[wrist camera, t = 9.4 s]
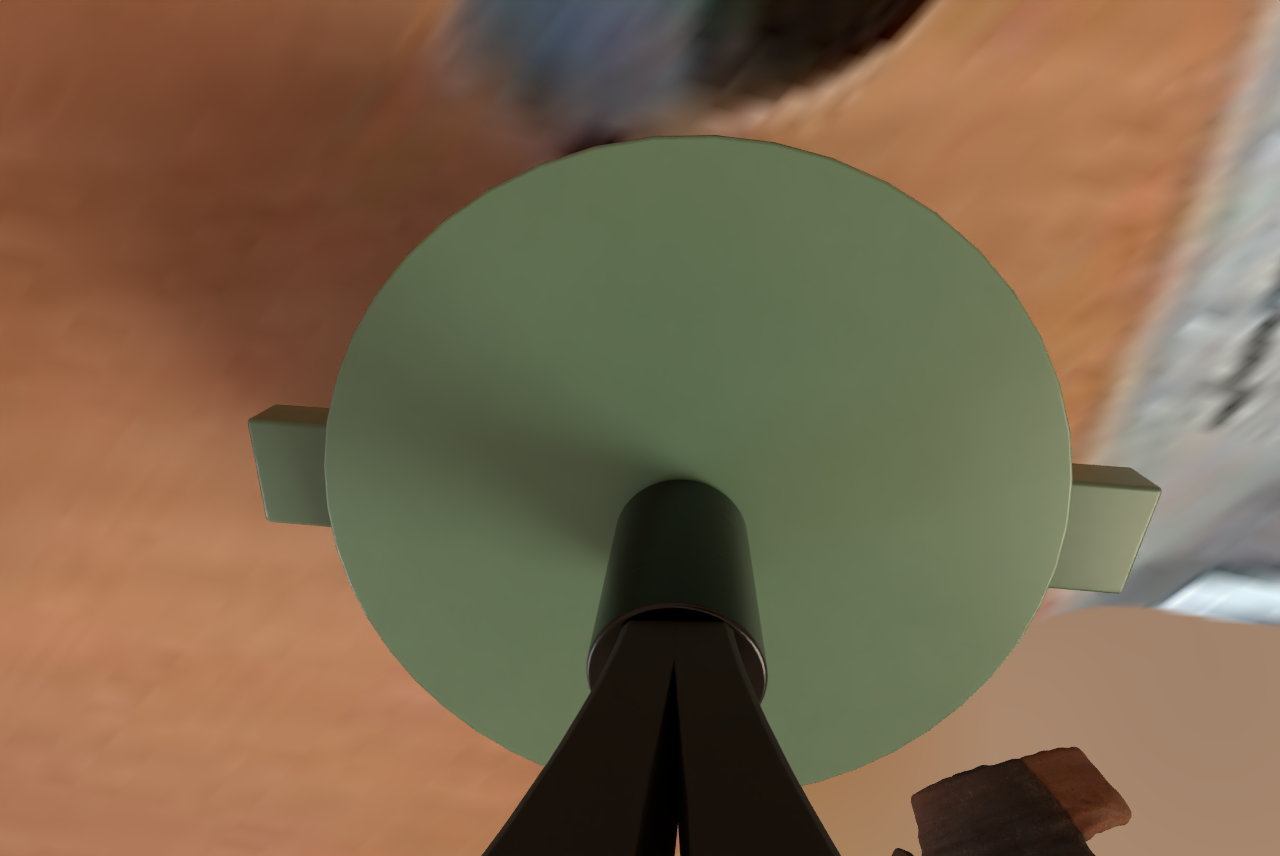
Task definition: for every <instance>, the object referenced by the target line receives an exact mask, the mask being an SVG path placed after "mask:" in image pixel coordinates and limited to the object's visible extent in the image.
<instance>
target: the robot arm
mask: <svg viewBox="0 0 1280 856" xmlns="http://www.w3.org/2000/svg"><path fill="white" fill-rule="evenodd" d="M678 827H679V844H680V856H841V855H840V854H839V852H838V850H837V848H836V847H835V845H834V843H833V842H832V840H831V838H830V837H829V835H828V833H827V831H826V830H825V828H824V826H823V824H822V823H821V821H820V819H819V818H818V816H817V814H816V812H815V811H814V809H813V807H812V806H811V804H810V802H809V800H808V798H807V797H806V795H805V793H804V791H803V789H802V787H801V786H800V784H799V782H798V780H797V778H796V776H795V774H794V773H793V771H792V769H791V767H790V765H789V763H788V761H787V759H786V757H785V755H784V753H783V751H782V749H781V747H780V745H779V743H778V741H777V739H776V737H775V735H774V733H773V731H772V729H771V727H770V725H769V723H768V721H767V719H766V717H765V714H764V712H763V710H762V708H761V706H760V704H759V701H758V699H757V697H756V694H755V692H754V689H753V687H752V685H751V682H750V680H749V678H748V675H747V672H746V670H745V667H744V665H743V662H742V659H741V656H740V653H739V650H738V647H737V643H736V640H735V636H734V631H733V629H732V628H731V627H730V626H729V625H727V624H726V623H725V622H689V621H638V620H630V621H629V622H628V623H627V624H625V625H624V626H623V627H622V629H621V631H620V634H619V636H618V639H617V641H616V643H615V645H614V648H613V650H612V652H611V654H610V656H609V658H608V660H607V662H606V664H605V666H604V668H603V670H602V672H601V674H600V675H599V677H598V679H597V681H596V683H595V685H594V686H593V688H592V690H591V692H590V694H589V696H588V697H587V699H586V701H585V702H584V704H583V706H582V707H581V709H580V711H579V712H578V714H577V716H576V717H575V719H574V721H573V722H572V724H571V726H570V727H569V729H568V731H567V732H566V734H565V736H564V737H563V739H562V741H561V742H560V744H559V746H558V747H557V749H556V750H555V752H554V753H553V755H552V756H551V758H550V760H549V761H548V763H547V764H546V765H545V767H544V768H543V770H542V771H541V773H540V774H539V776H538V777H537V779H536V780H535V781H534V783H533V784H532V786H531V787H530V789H529V790H528V792H527V793H526V795H525V796H524V798H523V799H522V800H521V802H520V803H519V805H518V806H517V808H516V809H515V811H514V812H513V814H512V815H511V816H510V818H509V819H508V821H507V822H506V823H505V825H504V826H503V828H502V829H501V830H500V832H499V833H498V834H497V836H496V837H495V838H494V840H493V841H492V842H491V844H490V845H489V846H488V848H487V849H486V850H485V852H484V853H483V854H482V856H675V847H676V837H677V828H678Z"/></svg>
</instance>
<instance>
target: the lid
mask: <svg viewBox="0 0 1280 856" xmlns="http://www.w3.org/2000/svg"><path fill="white" fill-rule="evenodd" d="M324 472H325V485H326V497H327V508H328V512H329V517H330V521H331V526H332V530H333V535H334V539H335V544H336V548H337V550H338V553H339V556H340V558H341V561H342V564H343V567H344V569H345V572H346V575H347V577H348V580H349V583H350V585H351V587H352V589H353V591H354V593H355V595H356V597H357V599H358V601H359V603H360V604H361V606H362V608H363V610H364V612H365V614H366V616H367V618H368V620H369V621H370V623H371V624H372V626H373V627H374V629H375V630H376V631H377V633H378V634H379V636H380V637H381V639H382V640H383V642H384V643H385V645H386V646H387V647H388V649H389V650H390V652H391V653H392V654H393V655H394V656H395V658H396V659H397V660H398V661H399V662H400V663H401V664H402V666H403V667H404V668H405V669H406V670H407V671H408V672H409V674H410V675H411V676H412V677H413V678H414V679H415V681H416V682H417V683H419V684H420V685H421V686H422V687H423V688H424V689H425V690H426V691H427V692H428V693H429V694H431V695H432V696H433V697H434V698H435V699H436V700H437V701H438V702H439V703H440V704H441V705H443V706H444V707H445V708H446V709H447V710H449V711H450V712H451V713H453V714H454V715H455V716H457V717H458V718H459V719H461V720H462V721H464V722H465V723H466V724H468V725H469V726H470V727H472V728H473V729H474V730H476V731H477V732H479V733H481V734H482V735H484V736H486V737H487V738H489V739H491V740H492V741H494V742H496V743H497V744H499V745H501V746H503V747H504V748H506V749H508V750H509V751H511V752H513V753H516V754H518V755H520V756H522V757H524V758H526V759H528V760H531V761H533V762H535V763H537V764H539V765H541V766H543V767H545V765H546V764H547V763H548V761H549V760H550V758H551V756H552V755H553V753H554V752H555V750H556V749H557V747H558V746H559V744H560V742H561V741H562V739H563V737H564V736H565V734H566V732H567V731H568V729H569V727H570V726H571V724H572V722H573V721H574V719H575V717H576V716H577V714H578V712H579V711H580V709H581V707H582V706H583V704H584V702H585V701H586V699H587V697H588V696H589V694H590V692H591V690H592V688H593V686H594V685H595V683H596V681H597V679H598V677H599V675H600V674H601V672H602V670H603V668H604V666H605V664H606V662H607V660H608V658H609V656H610V654H611V652H612V650H613V648H614V645H615V643H616V641H617V639H618V636H619V634H620V631H621V629H622V627H623V626H624V625H625V624H627V623H628V622H629V621H630V620H638V621H689V622H725V623H726V624H727V625H729V626H730V627H731V628H732V629H733V631H734V636H735V640H736V643H737V647H738V650H739V653H740V656H741V659H742V662H743V665H744V667H745V670H746V672H747V675H748V678H749V680H750V682H751V685H752V687H753V689H754V692H755V694H756V697H757V699H758V701H759V704H760V706H761V708H762V710H763V712H764V714H765V717H766V719H767V721H768V723H769V725H770V727H771V729H772V731H773V733H774V735H775V737H776V739H777V741H778V743H779V745H780V747H781V749H782V751H783V753H784V755H785V757H786V759H787V761H788V763H789V765H790V767H791V769H792V771H793V773H794V774H795V776H796V778H797V780H798V782H799V784H800V786H803V785H808V784H812V783H816V782H819V781H822V780H825V779H828V778H831V777H834V776H837V775H840V774H843V773H846V772H849V771H852V770H855V769H857V768H859V767H862V766H864V765H866V764H868V763H870V762H873V761H875V760H877V759H879V758H881V757H883V756H886V755H888V754H890V753H892V752H894V751H896V750H897V749H899V748H901V747H902V746H904V745H906V744H907V743H909V742H911V741H912V740H914V739H916V738H917V737H919V736H921V735H922V734H924V733H926V732H927V731H929V730H930V729H931V728H933V727H934V726H935V725H937V724H938V723H939V722H941V721H942V720H943V719H945V718H946V717H947V716H948V715H950V714H951V713H952V712H954V711H955V710H956V709H958V708H959V707H960V706H962V704H964V703H965V702H966V700H968V699H969V698H970V697H971V696H972V695H973V694H974V693H975V692H976V691H977V690H978V689H979V688H980V687H981V686H982V685H983V684H984V683H985V682H986V681H987V680H988V679H989V678H990V677H991V676H992V675H993V674H994V672H995V671H996V670H997V669H998V667H999V666H1000V665H1001V664H1002V663H1003V661H1004V660H1005V659H1006V657H1007V656H1008V655H1009V654H1010V652H1011V651H1012V650H1013V649H1014V648H1015V646H1016V645H1017V644H1018V642H1019V640H1020V639H1021V637H1022V636H1023V634H1024V632H1025V631H1026V629H1027V627H1028V626H1029V624H1030V622H1031V621H1032V619H1033V617H1034V616H1035V614H1036V612H1037V611H1038V609H1039V607H1040V605H1041V603H1042V600H1043V598H1044V596H1045V593H1046V591H1047V589H1048V586H1049V584H1050V582H1051V579H1052V577H1053V575H1054V572H1055V570H1056V568H1057V564H1058V560H1059V557H1060V553H1061V549H1062V545H1063V541H1064V538H1065V534H1066V530H1067V526H1068V520H1069V510H1070V500H1071V491H1072V481H1073V475H1072V456H1071V438H1070V429H1069V424H1068V420H1067V415H1066V410H1065V406H1064V401H1063V397H1062V392H1061V388H1060V383H1059V381H1058V378H1057V376H1056V373H1055V371H1054V368H1053V366H1052V363H1051V360H1050V358H1049V355H1048V353H1047V350H1046V348H1045V345H1044V343H1043V340H1042V338H1041V336H1040V334H1039V332H1038V331H1037V329H1036V327H1035V326H1034V324H1033V322H1032V321H1031V319H1030V317H1029V316H1028V314H1027V312H1026V311H1025V309H1024V307H1023V306H1022V304H1021V302H1020V301H1019V299H1018V297H1017V296H1016V294H1015V292H1014V291H1013V290H1012V289H1011V287H1010V286H1009V285H1008V284H1007V283H1006V281H1005V280H1004V279H1003V278H1002V277H1001V275H1000V274H999V273H998V272H997V271H996V270H995V268H994V267H993V266H992V265H991V264H990V262H989V261H988V260H987V259H986V258H985V256H984V255H983V254H982V253H981V252H980V250H978V249H977V248H976V247H975V246H974V245H973V244H972V243H970V242H969V241H968V240H967V239H966V238H965V237H964V236H962V235H961V234H960V233H959V232H958V231H957V230H955V229H954V228H953V227H952V226H951V225H950V224H949V223H947V222H946V221H945V220H944V219H943V218H942V217H940V216H939V215H938V214H937V213H936V212H934V211H932V210H931V209H929V208H928V207H926V206H924V205H923V204H921V203H920V202H918V201H917V200H915V199H913V198H912V197H910V196H909V195H907V194H905V193H904V192H902V191H901V190H899V189H897V188H896V187H894V186H893V185H891V184H890V183H888V182H886V181H884V180H881V179H879V178H877V177H874V176H872V175H870V174H868V173H865V172H863V171H861V170H858V169H856V168H854V167H852V166H849V165H847V164H845V163H842V162H840V161H838V160H836V159H833V158H830V157H826V156H823V155H819V154H815V153H812V152H808V151H804V150H801V149H797V148H793V147H789V146H786V145H782V144H778V143H775V142H767V141H759V140H750V139H742V138H734V137H726V136H717V135H698V136H654V137H648V138H642V139H636V140H630V141H624V142H618V143H612V144H606V145H600V146H595V147H592V148H588V149H585V150H582V151H579V152H576V153H573V154H570V155H567V156H563V157H560V158H557V159H554V160H551V161H548V162H545V163H542V164H539V165H537V166H535V167H533V168H531V169H529V170H527V171H525V172H523V173H521V174H518V175H516V176H514V177H512V178H510V179H508V180H506V181H504V182H502V183H500V184H498V185H496V186H494V187H492V188H490V189H488V190H487V191H485V192H484V193H482V194H481V195H480V196H478V197H477V198H475V199H474V200H472V201H471V202H469V203H468V204H466V205H465V206H464V207H462V208H461V209H459V210H458V211H456V212H455V213H453V214H452V215H450V216H449V217H448V218H446V219H445V220H444V221H443V222H442V223H440V224H439V225H438V226H437V227H436V228H435V229H434V230H433V231H432V232H431V233H430V234H429V235H428V236H427V237H425V238H424V239H423V240H422V241H421V242H420V243H419V244H418V245H417V246H416V247H415V248H414V249H413V250H412V251H410V252H409V253H408V254H407V255H406V257H405V258H404V259H403V260H402V262H401V263H400V264H399V266H398V267H397V268H396V269H395V271H394V272H393V273H392V274H391V276H390V277H389V278H388V279H387V281H386V282H385V283H384V285H383V286H382V287H381V288H380V290H379V291H378V292H377V293H376V295H375V297H374V298H373V300H372V302H371V304H370V306H369V307H368V309H367V311H366V313H365V314H364V316H363V318H362V320H361V321H360V323H359V325H358V327H357V328H356V330H355V332H354V334H353V336H352V338H351V341H350V344H349V346H348V349H347V351H346V354H345V357H344V359H343V362H342V365H341V367H340V370H339V372H338V375H337V378H336V382H335V386H334V391H333V396H332V400H331V405H330V410H329V414H328V419H327V426H326V441H325V457H324Z"/></svg>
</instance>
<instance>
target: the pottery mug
mask: <svg viewBox="0 0 1280 856" xmlns="http://www.w3.org/2000/svg"><path fill="white" fill-rule="evenodd" d="M911 803H912V807H913V810H914V814H915V818H916V822H917V825H918V829H919V832H918V838H919V843H920V846H921V849H922V856H1095V855H1094V854H1093V853H1092V851H1091V850H1090V849H1089V847H1088V846H1087V844H1086V842H1085V841H1088V840H1090V839H1091V838H1092V837H1093V836H1094V835H1095V834H1096V833H1101V832H1103V831H1105V830H1108V829H1110V828H1113V827H1115V826H1119V825H1120V826H1121V825H1125V824H1127V823H1128V821H1129V819H1130V818H1131V811H1130V809H1129V807H1128V805H1127V804H1126V802H1125V800H1124V799H1123V798H1122V797H1121V795H1120V794H1119V793H1118V792H1117V791H1116V790H1115V789H1114V788H1113V787H1112V786H1111V785H1110V784H1109V783H1108V782H1107V781H1106V780H1105V778H1104V777H1103V775H1102V774H1101V773H1100V772H1099V770H1098V769H1097V768H1096V767H1095V766H1094V765H1093V764H1092V763H1091V762H1090V761H1089V760H1088V758H1087V757H1086V755H1085V754H1084V753H1083V752H1082V751H1081V750H1080V749H1079V748H1077V747H1071V748H1056V749H1053V750H1049V751H1041V752H1038V753H1036V754H1033V755H1029V756H1024V757H1022V758H1020V759H1011V760H1008V761H1005V762H1002V763H999V764H996V765H991V766H988V765H981V766H979V767H976V768H975V769H972V770H969V771H964V772H961V773H958V774H955V775H953V776H952V777H948V778H945V779H942V780H941V781H939V782H937V783H935V784H932V785H930V786H928V787H926V788H924V789H922V790H921V791H919V792H917V793H916V794H914V795H913V796H912V798H911ZM892 856H913V855H912V854H911V853H910V852H908V851H905V850H903V849H900V848H897V849H895V850H894V852H893V854H892Z"/></svg>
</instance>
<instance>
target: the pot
mask: <svg viewBox="0 0 1280 856" xmlns="http://www.w3.org/2000/svg"><path fill="white" fill-rule="evenodd" d="M329 410H330V408H317V407H303V406H290V405H274V406H272V407H270V408H268V409H266V410H265V411H263V412H261V413H259V414H257V415H256V416H254V417H252V418H250V419H249V421H248V426H249V431H250V436H251V442H252V447H253V452H254V457H255V462H256V467H257V473H258V478H259V483H260V488H261V493H262V499H263V504H264V509H265V514H266V519H267V520H268V521H270V522H279V523H291V524H303V525H314V526H326V527H332V526H331V521H330V517H329V512H328V508H327V497H326V485H325V472H324V457H325V441H326V426H327V419H328V414H329ZM1072 475H1073V481H1072V491H1071V500H1070V510H1069V520H1068V526H1067V530H1066V534H1065V538H1064V541H1063V545H1062V549H1061V553H1060V557H1059V560H1058V564H1057V568H1056V570H1055V572H1054V575H1053V577H1052V579H1051V582H1050V584H1049V586H1048V588H1059V589H1071V590H1082V591H1094V592H1106V593H1121V592H1122V591H1123V589H1124V586H1125V584H1126V581H1127V578H1128V576H1129V573H1130V571H1131V568H1132V566H1133V563H1134V561H1135V558H1136V556H1137V553H1138V551H1139V548H1140V546H1141V543H1142V541H1143V538H1144V536H1145V533H1146V530H1147V528H1148V525H1149V523H1150V520H1151V518H1152V515H1153V513H1154V510H1155V508H1156V505H1157V503H1158V500H1159V498H1160V495H1161V493H1162V492H1161V488H1160V487H1158V486H1157V485H1155V484H1154V483H1152V482H1151V481H1150V480H1148V479H1147V478H1145V477H1144V476H1142V475H1141V474H1139V473H1138V472H1136V471H1135V470H1133V469H1131V468H1127V467H1114V466H1100V465H1087V464H1073V463H1072Z"/></svg>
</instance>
